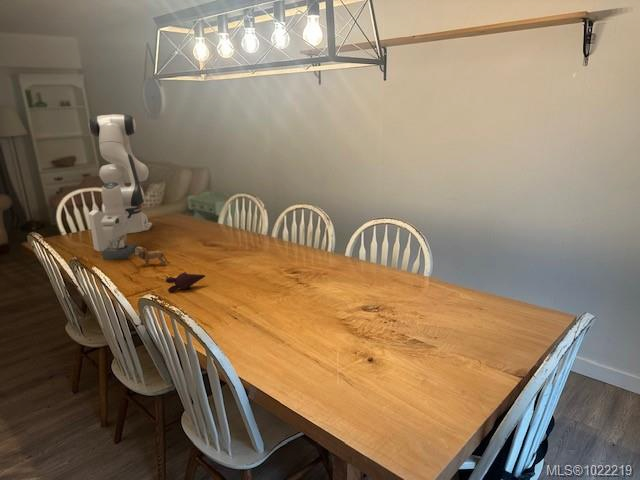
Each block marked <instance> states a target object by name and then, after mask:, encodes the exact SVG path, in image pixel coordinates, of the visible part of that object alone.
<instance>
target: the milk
mask: <svg viewBox="0 0 640 480" xmlns="http://www.w3.org/2000/svg"><path fill="white" fill-rule="evenodd" d="M92 208H93V209H92V210H91V211H90V212H88V214H87V215H88V220H89V227H90V231H91V238H92V244H93V250H94V251H96V252H98V253H102V251H103V250H105V249H107V248H108V247H110V246H111V242H107V241H106V240H105V238H104V234H103V226H104V225H101V221H102V219H103V218H104V215H105V212H103V211H101V210H99V207H96V206H93V207H92Z"/></svg>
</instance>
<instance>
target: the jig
mask: <svg viewBox="0 0 640 480" xmlns="http://www.w3.org/2000/svg"><path fill="white" fill-rule="evenodd" d="M124 245H125V248H124V249H114V248H113V246H112V244H110V247H108V248H107V249H105V250H103V251H101V253H102V259H103V260H131V259H132V258H134V257H135V256H136V254H135V248H137V247H139V246H138V243H124Z"/></svg>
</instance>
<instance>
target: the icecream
mask: <svg viewBox="0 0 640 480" xmlns="http://www.w3.org/2000/svg"><path fill="white" fill-rule="evenodd" d="M205 277H206V275H205V274H195V273H194V274H193V273H187V272H186V271H184V272H181V273H180V274H178V275H177V277H173V276H170V277H167V278H165V283H167V284H174V285H172V286H170V287H169V288H168V293H173V292H174V293H175V292H176V291H177V290H178V289H180V290H188V288H189V290H190V289H191V286H193V285H194V284H196V283H198V282H199V281H200V280H203V278H205Z"/></svg>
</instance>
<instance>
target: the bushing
mask: <svg viewBox="0 0 640 480" xmlns="http://www.w3.org/2000/svg"><path fill="white" fill-rule="evenodd" d="M116 244H118V248H116V249H124V248H125V245H124V244H125V243H124V239H123V238H122V237H119V238H117V239H116Z"/></svg>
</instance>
